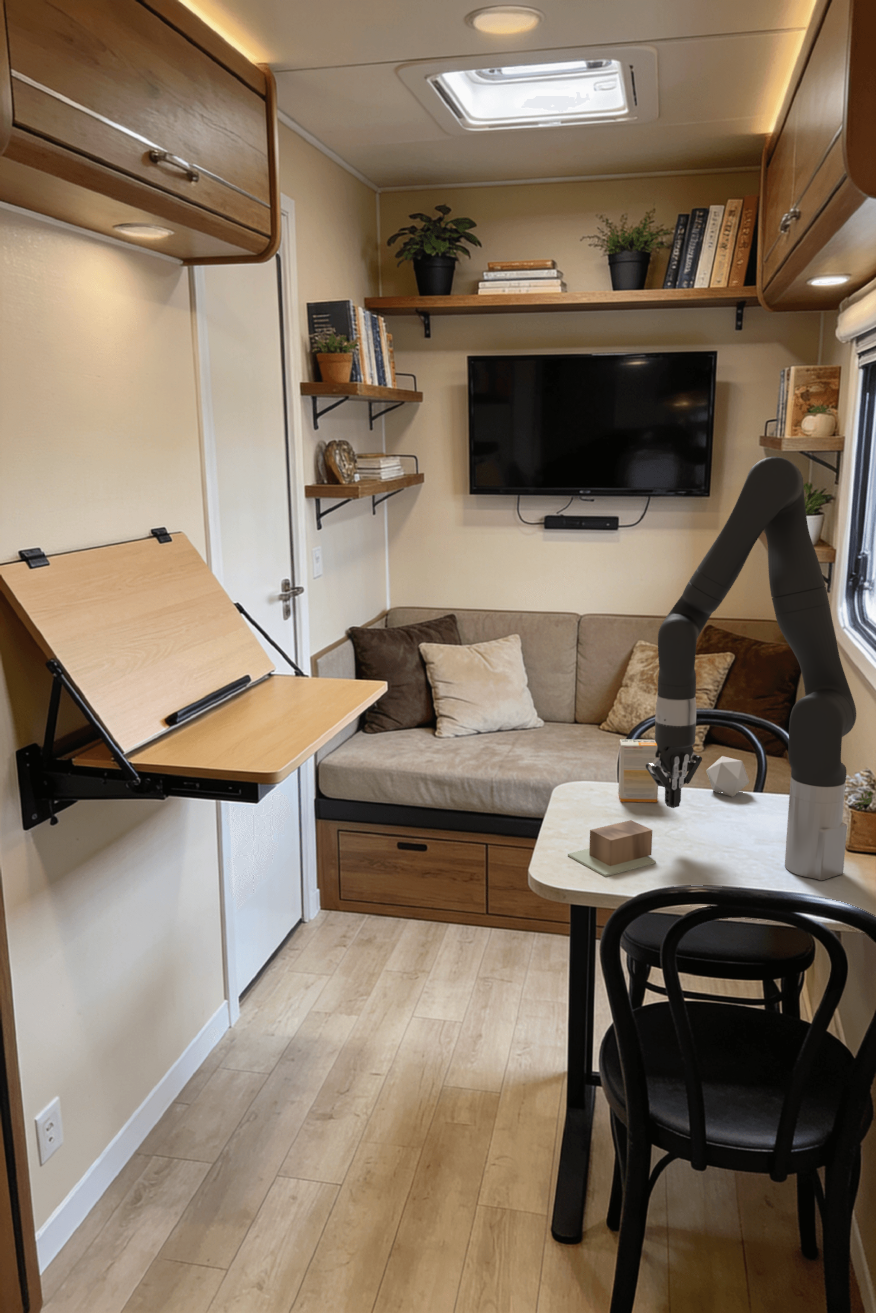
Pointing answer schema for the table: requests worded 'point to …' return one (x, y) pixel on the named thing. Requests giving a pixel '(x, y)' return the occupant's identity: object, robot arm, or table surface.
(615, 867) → the mat
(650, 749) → the supplement box
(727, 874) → the table surface
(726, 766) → the die
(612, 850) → the walnut block
